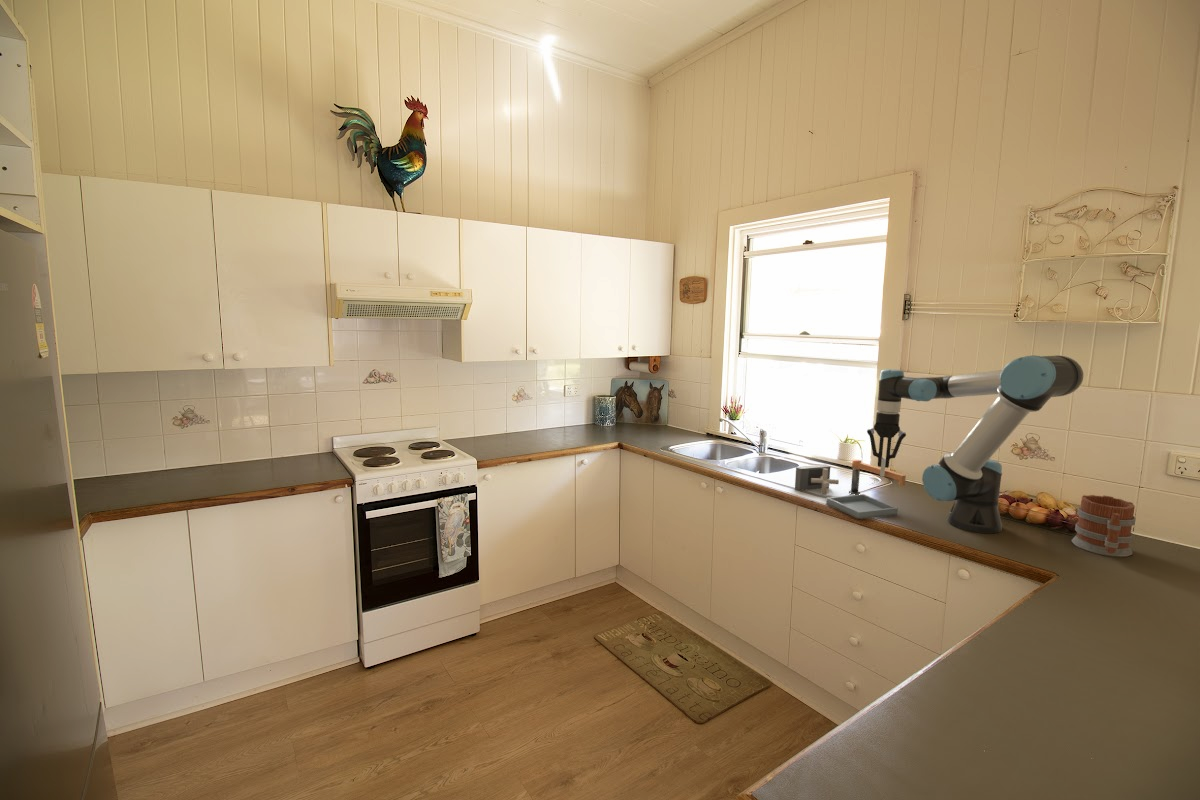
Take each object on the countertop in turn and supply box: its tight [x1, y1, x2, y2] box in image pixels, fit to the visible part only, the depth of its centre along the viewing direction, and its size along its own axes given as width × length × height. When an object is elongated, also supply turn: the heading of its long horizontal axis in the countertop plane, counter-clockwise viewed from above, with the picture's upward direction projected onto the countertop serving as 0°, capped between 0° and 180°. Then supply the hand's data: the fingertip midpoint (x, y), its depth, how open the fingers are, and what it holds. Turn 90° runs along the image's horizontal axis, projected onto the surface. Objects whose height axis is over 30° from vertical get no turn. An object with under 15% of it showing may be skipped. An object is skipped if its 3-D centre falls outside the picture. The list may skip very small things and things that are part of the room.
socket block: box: [794, 464, 831, 492], centre depth 231 cm, size 3×14×9 cm, turn 107°
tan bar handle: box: [851, 459, 907, 486], centre depth 214 cm, size 3×23×4 cm, turn 23°
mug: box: [1071, 494, 1136, 558], centre depth 170 cm, size 14×19×15 cm
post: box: [848, 468, 861, 495], centre depth 224 cm, size 4×4×10 cm
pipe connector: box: [811, 468, 840, 495], centre depth 224 cm, size 10×10×10 cm
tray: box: [825, 493, 899, 520], centre depth 206 cm, size 17×17×2 cm
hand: (882, 475), depth 209 cm, fingers closed
